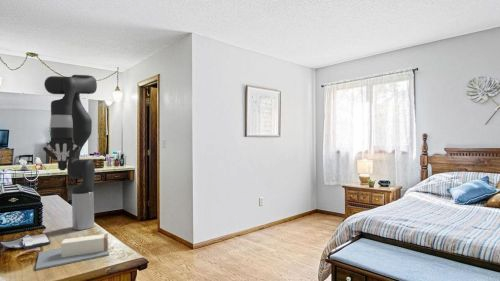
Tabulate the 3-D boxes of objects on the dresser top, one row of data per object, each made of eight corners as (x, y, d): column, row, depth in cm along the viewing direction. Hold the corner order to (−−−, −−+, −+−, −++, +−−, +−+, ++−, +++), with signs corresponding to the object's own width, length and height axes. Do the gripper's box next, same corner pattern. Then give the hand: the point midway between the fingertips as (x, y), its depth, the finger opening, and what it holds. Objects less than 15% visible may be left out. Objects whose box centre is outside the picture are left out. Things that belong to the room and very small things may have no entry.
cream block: (61, 243, 106) (107, 237, 111) (64, 239, 110) (108, 233, 116) (61, 257, 106) (107, 250, 111) (64, 252, 110) (108, 246, 116)
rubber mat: (39, 253, 111) (39, 251, 111) (103, 241, 123) (103, 240, 123) (35, 270, 97) (35, 268, 97) (108, 255, 109) (108, 253, 109)
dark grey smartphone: (21, 241, 127) (24, 251, 115) (20, 237, 127) (24, 246, 115) (45, 236, 133) (51, 245, 121) (45, 233, 133) (51, 241, 121)
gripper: (82, 127, 122) (83, 168, 123) (44, 127, 117) (45, 170, 118) (79, 126, 116) (80, 170, 116) (39, 126, 110) (40, 172, 111)
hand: (62, 170), depth 117 cm, fingers closed
